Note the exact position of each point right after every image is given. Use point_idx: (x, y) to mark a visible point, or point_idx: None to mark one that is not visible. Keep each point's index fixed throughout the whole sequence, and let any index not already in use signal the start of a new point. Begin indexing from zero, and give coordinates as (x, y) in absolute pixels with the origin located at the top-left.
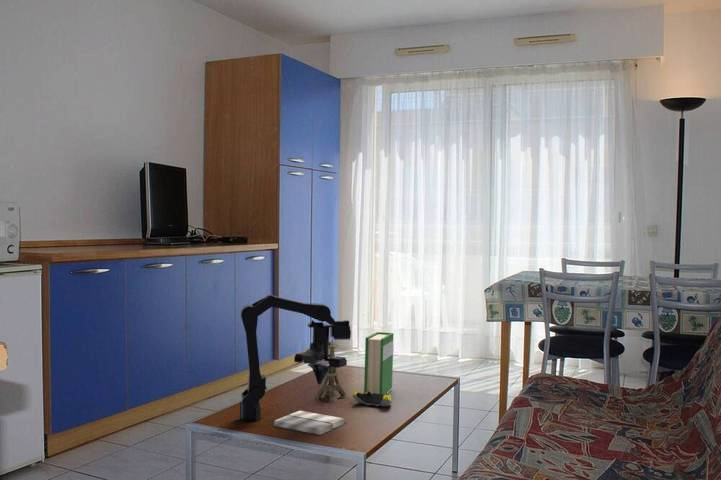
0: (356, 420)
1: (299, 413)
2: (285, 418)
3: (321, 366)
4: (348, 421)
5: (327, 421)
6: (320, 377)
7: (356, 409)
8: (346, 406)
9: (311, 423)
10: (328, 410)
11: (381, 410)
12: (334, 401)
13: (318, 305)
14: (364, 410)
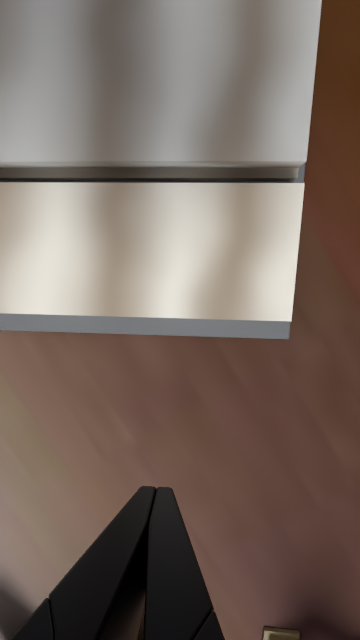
0: (7, 417)
1: (257, 259)
2: (277, 89)
3: None
4: (27, 383)
5: (6, 195)
6: (86, 564)
7: None
8: None
9: (59, 90)
10: (216, 500)
11: (16, 603)
12: (269, 634)
13: None
14: None
